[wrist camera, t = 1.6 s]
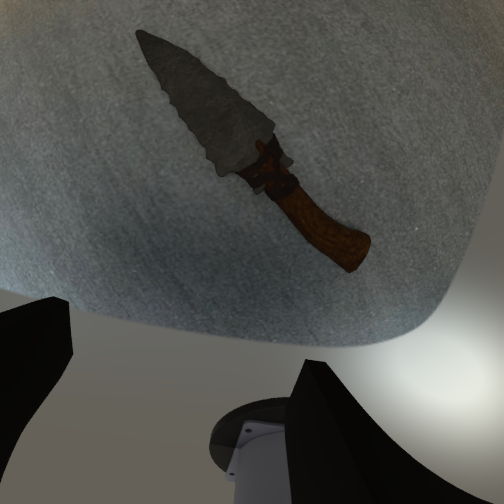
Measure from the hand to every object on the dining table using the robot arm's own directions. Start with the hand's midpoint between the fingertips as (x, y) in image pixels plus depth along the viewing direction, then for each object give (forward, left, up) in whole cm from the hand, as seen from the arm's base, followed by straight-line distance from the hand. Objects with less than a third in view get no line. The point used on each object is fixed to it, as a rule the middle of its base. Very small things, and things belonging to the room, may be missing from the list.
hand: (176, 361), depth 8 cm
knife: (+6, 0, -9) cm, 11 cm away
